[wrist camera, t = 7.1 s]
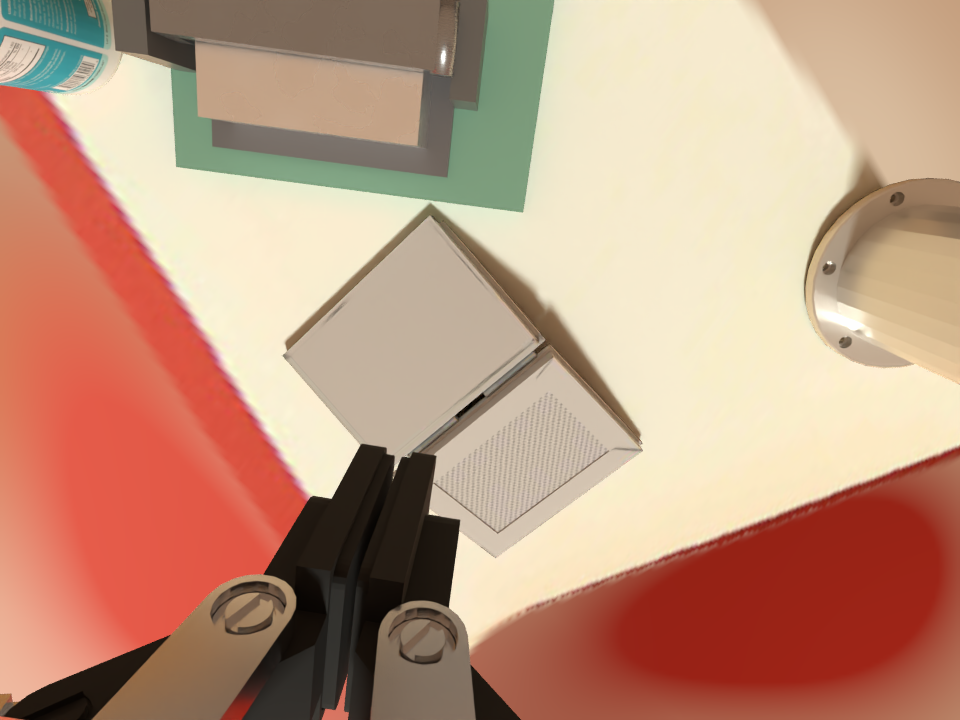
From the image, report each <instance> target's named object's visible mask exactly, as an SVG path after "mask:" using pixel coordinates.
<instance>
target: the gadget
mask: <svg viewBox="0 0 960 720" xmlns="http://www.w3.org/2000/svg"><path fill="white" fill-rule="evenodd" d="M545 340H546V339H545V338H544V337H543V336H542V334H541V333H540V332H539V331H538V330H537V329H536V327H535V326H534V325H533V324H532V323H531V322H530V320H529V319H528V318H527V317H526V316H525V315H524V313H523V312H522V311H521V310H520V309H519V307H518V306H517V305H516V304H515V303H514V302H513V300H512V299H511V298H510V297H509V296H508V295H507V293H506V292H505V291H504V290H503V289H502V288H501V286H500V285H499V284H498V283H497V282H496V281H495V279H494V278H493V277H492V276H491V275H490V273H489V272H488V271H487V270H486V269H485V268H484V266H483V265H482V264H481V263H480V262H479V261H478V259H477V258H476V257H475V256H474V255H473V254H472V252H471V251H470V250H469V249H468V248H467V247H466V245H465V244H464V243H463V242H462V241H461V240H460V239H459V238H458V236H457V235H456V234H455V233H454V232H453V231H452V230H451V229H450V227H449V226H448V225H447V224H446V223H445V222H444V221H442V222H440V223H438V222H437V221H436V220H435V218H434V217H433V216H431V215H429V216H428V217H427V218H426V219H425V220H424V221H423V222H422V223H421V224H420V225H419V226H418V227H417V228H416V229H415V230H414V231H413V232H411V233H410V234H409V235H408V236H407V237H406V238H405V239H404V240H403V241H402V242H401V243H400V244H399V245H398V246H397V247H396V248H395V249H394V250H393V251H392V252H391V253H389V254H388V255H387V256H386V257H385V258H384V259H383V260H382V261H381V262H380V263H379V264H378V265H377V266H376V267H375V268H374V269H373V270H372V271H371V272H370V273H368V274H367V275H366V276H365V277H364V278H363V279H362V280H361V281H360V282H359V283H358V284H357V285H356V286H355V287H354V288H353V289H352V290H351V291H350V292H349V293H348V294H346V295H345V296H344V297H343V298H342V299H341V300H340V301H339V302H338V303H337V304H336V305H335V306H334V307H333V308H332V309H331V310H330V311H329V312H328V313H327V314H326V315H324V316H323V317H322V318H321V319H320V320H319V321H318V322H317V323H316V324H315V325H314V326H313V327H312V328H311V329H310V330H309V331H308V332H307V333H306V334H305V335H303V336H302V337H301V338H300V339H299V340H298V341H297V342H296V343H295V344H294V345H293V346H292V347H291V348H290V349H289V350H288V351H287V352H286V353H285V354H284V355H283V357H284V358H285V359H286V360H287V362H288V363H289V364H290V365H291V366H292V367H293V368H294V369H295V371H296V372H297V373H298V374H299V375H300V376H301V377H302V379H303V380H304V381H305V382H306V383H307V384H308V385H309V387H310V388H311V389H312V390H313V391H314V392H315V393H316V395H317V396H318V397H319V398H320V399H321V400H322V401H323V403H324V404H325V405H326V406H327V407H328V408H329V409H330V411H331V412H332V413H333V414H334V415H335V416H336V417H337V419H338V420H339V421H340V422H341V423H342V424H343V425H344V427H345V428H346V429H347V430H348V431H349V432H350V433H351V435H352V436H353V437H354V438H355V439H356V440H357V441H358V443H359V444H360V445H361V444H368V445H374V446H381V447H386V448H387V454H389V455H395V463H394V465H395V464H397V463H398V462H399V461H400V460H401V457H405V456H406V455H407V454H408V455H409V456H410V457H411V454H412V452H418V453H424V454H430V455H436V456H437V458H436V466H435V473H434V479H433V486H432V493H431V500H430V507H429V508H430V509H431V510H432V511H434V512H435V513H436V514H438V515H439V516H441V517H447V518H453V519H459V520H460V528H459V531H460V532H462V533H463V534H464V535H465V536H467V537H468V538H469V539H471V540H472V541H473V542H475V543H476V544H477V545H479V546H480V547H481V548H483V549H484V550H485V551H487V552H488V553H489V554H491V555H492V556H493V557H495V558H496V557H498V556H499V555H500V554H502V553H503V552H505V551H506V550H507V549H509V548H510V547H511V546H513V545H514V544H516V543H517V542H518V541H520V540H521V539H522V538H524V537H525V536H527V535H528V534H529V533H531V532H532V531H533V530H535V529H536V528H538V527H539V526H540V525H542V524H543V523H544V522H546V521H547V520H549V519H550V518H551V517H553V516H554V515H555V514H557V513H558V512H559V511H561V510H562V509H564V508H565V507H566V506H568V505H569V504H570V503H572V502H573V501H575V500H576V499H577V498H579V497H580V496H581V495H583V494H584V493H586V492H587V491H588V490H590V489H591V488H592V487H594V486H595V485H597V484H598V483H599V482H601V481H602V480H603V479H605V478H606V477H608V476H609V475H610V474H612V473H613V472H614V471H616V470H617V469H619V468H620V467H621V466H623V465H624V464H625V463H627V462H628V461H630V460H631V459H632V458H634V457H635V456H636V455H638V454H639V453H641V452H642V451H643V450H642V448H641V447H640V445H641V444H643V443H642V442H641V441H640V440H639V439H638V438H637V437H636V435H635V434H634V433H633V432H632V431H631V430H630V429H629V428H628V427H627V425H626V424H625V423H624V422H623V421H622V420H621V419H620V418H619V417H618V416H617V415H616V414H615V413H614V411H613V410H612V409H611V408H610V407H609V406H608V405H607V404H606V403H605V402H604V401H603V400H602V399H601V398H600V397H599V396H598V395H597V393H596V392H595V391H594V390H593V389H592V388H591V387H590V386H589V385H588V384H587V383H586V382H585V381H584V380H583V379H582V378H581V377H580V375H579V374H578V373H577V372H576V371H575V370H574V369H573V368H572V367H571V366H570V365H569V364H568V363H567V362H566V361H565V360H564V359H563V357H562V356H561V355H560V354H559V353H558V352H557V351H556V350H555V349H554V348H553V347H552V346H551V345H550V344H549V345H547V346H546V347H545V348H544V349H543V350H541V351H540V352H539V353H538V354H536V353H535V351H534V350H535V349H536V348H537V347H538V346H539V345H541V344H542V343H543V342H544V341H545ZM482 392H483V393H484V395H485V397H484V398H483V399H482V400H481V401H479V402H478V403H477V404H476V405H475V406H473V407H472V408H471V409H470V410H468V411H467V412H466V413H465V414H464V415H462V416H461V417H460V418H458V417H457V416H456V414H457V413H458V412H459V411H461V410H462V409H463V408H464V407H466V406H467V405H468V404H469V403H470V402H472V401H473V400H474V399H475V398H476V397H478V396H479V395H480V394H481V393H482ZM396 471H397V470H395V471H394V472H393V477H394V476H395V473H396Z"/></svg>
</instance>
